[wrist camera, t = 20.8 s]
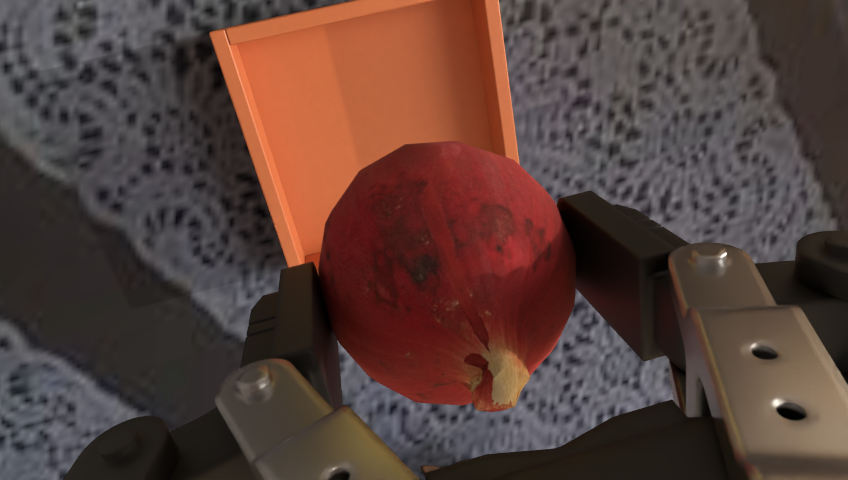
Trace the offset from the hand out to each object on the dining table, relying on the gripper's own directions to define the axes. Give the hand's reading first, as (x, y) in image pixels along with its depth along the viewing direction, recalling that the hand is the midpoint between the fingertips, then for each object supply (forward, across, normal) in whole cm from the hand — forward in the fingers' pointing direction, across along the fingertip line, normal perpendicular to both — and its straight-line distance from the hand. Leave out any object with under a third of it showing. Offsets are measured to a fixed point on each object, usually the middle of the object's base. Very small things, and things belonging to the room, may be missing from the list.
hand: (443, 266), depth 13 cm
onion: (+4, 0, 0) cm, 4 cm away
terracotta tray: (+14, 0, 0) cm, 14 cm away
